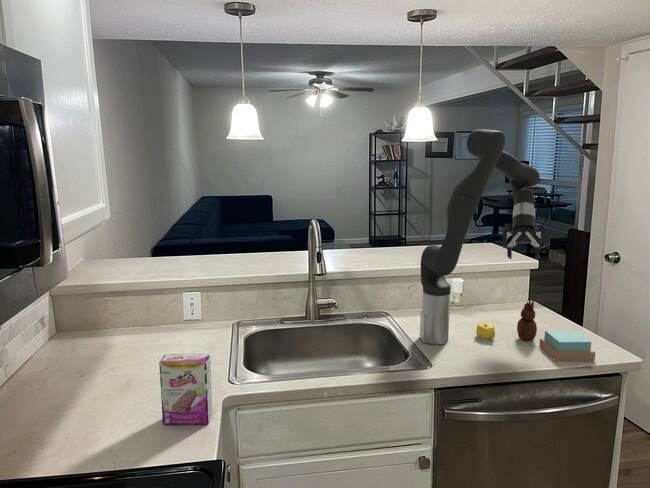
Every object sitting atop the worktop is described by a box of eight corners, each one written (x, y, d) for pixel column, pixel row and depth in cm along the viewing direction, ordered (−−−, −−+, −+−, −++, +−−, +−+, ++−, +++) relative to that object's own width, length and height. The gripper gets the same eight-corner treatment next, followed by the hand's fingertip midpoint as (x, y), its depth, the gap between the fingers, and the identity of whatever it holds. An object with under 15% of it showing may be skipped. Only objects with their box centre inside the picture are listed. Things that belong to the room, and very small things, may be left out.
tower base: (556, 361, 152) (557, 343, 151) (539, 346, 164) (540, 329, 163) (594, 361, 152) (596, 343, 151) (574, 346, 164) (576, 329, 163)
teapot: (501, 340, 169) (502, 326, 168) (488, 343, 167) (489, 328, 166) (485, 332, 176) (486, 319, 175) (472, 335, 174) (473, 321, 173)
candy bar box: (162, 426, 116) (157, 362, 113) (168, 415, 121) (164, 353, 118) (209, 425, 116) (206, 361, 113) (213, 414, 121) (210, 352, 118)
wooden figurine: (538, 343, 166) (541, 301, 163) (521, 343, 166) (524, 301, 164) (530, 336, 173) (533, 295, 170) (514, 336, 173) (517, 295, 170)
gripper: (502, 213, 178) (501, 254, 172) (545, 212, 172) (545, 254, 166) (503, 222, 184) (502, 262, 178) (545, 221, 178) (545, 262, 172)
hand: (523, 258), depth 172 cm, fingers open, 8 cm apart
